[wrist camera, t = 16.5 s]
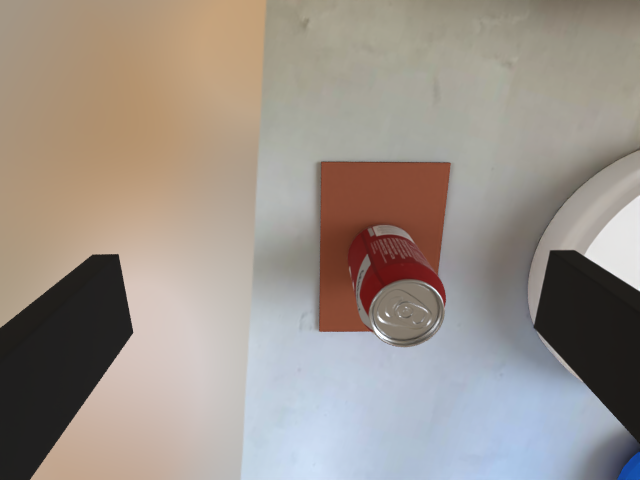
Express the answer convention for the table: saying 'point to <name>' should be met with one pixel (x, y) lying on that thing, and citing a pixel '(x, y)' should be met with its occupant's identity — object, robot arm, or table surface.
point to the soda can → (395, 286)
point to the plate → (596, 229)
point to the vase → (631, 469)
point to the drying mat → (374, 223)
